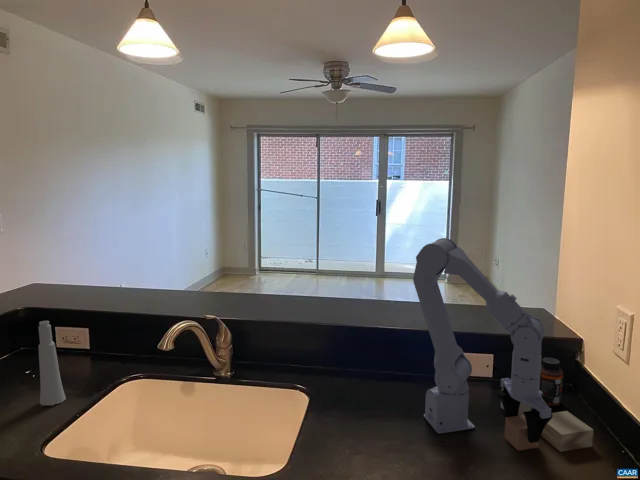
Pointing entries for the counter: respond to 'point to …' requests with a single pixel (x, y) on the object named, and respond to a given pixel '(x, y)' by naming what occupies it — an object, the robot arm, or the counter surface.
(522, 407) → the grey cube
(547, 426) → the birch base block
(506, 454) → the counter surface
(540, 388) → the supplement bottle
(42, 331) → the cosmetic bottle
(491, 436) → the counter surface
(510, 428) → the terracotta cube
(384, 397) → the counter surface
